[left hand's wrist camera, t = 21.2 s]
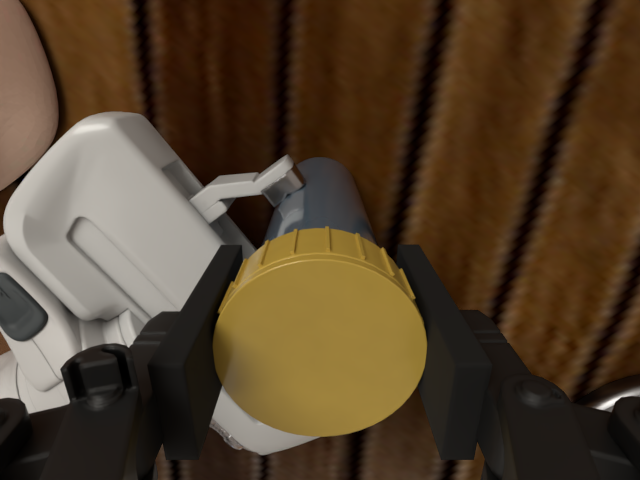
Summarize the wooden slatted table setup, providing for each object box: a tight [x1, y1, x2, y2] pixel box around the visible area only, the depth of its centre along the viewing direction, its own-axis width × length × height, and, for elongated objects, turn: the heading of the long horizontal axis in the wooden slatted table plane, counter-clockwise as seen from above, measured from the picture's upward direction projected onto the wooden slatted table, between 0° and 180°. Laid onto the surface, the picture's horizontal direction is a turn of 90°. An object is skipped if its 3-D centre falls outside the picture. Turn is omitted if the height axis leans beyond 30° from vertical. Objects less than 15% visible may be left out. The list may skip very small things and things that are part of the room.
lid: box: [213, 226, 427, 437], centre depth 11 cm, size 6×6×2 cm
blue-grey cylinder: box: [261, 157, 378, 247], centre depth 18 cm, size 5×5×16 cm
